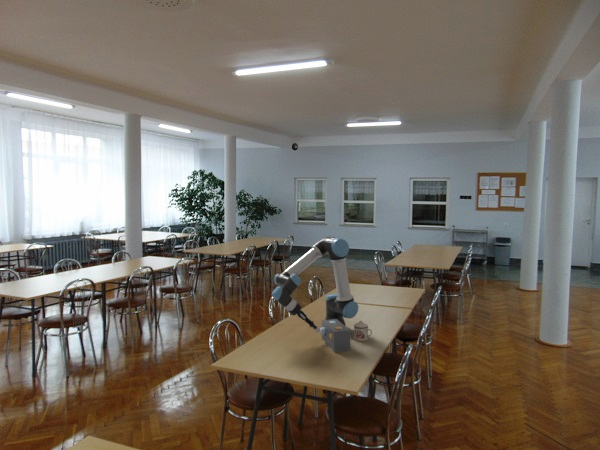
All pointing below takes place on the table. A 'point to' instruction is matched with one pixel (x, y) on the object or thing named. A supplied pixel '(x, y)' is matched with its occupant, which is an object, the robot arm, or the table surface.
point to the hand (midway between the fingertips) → (319, 331)
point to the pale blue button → (323, 331)
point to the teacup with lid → (361, 331)
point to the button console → (336, 335)
